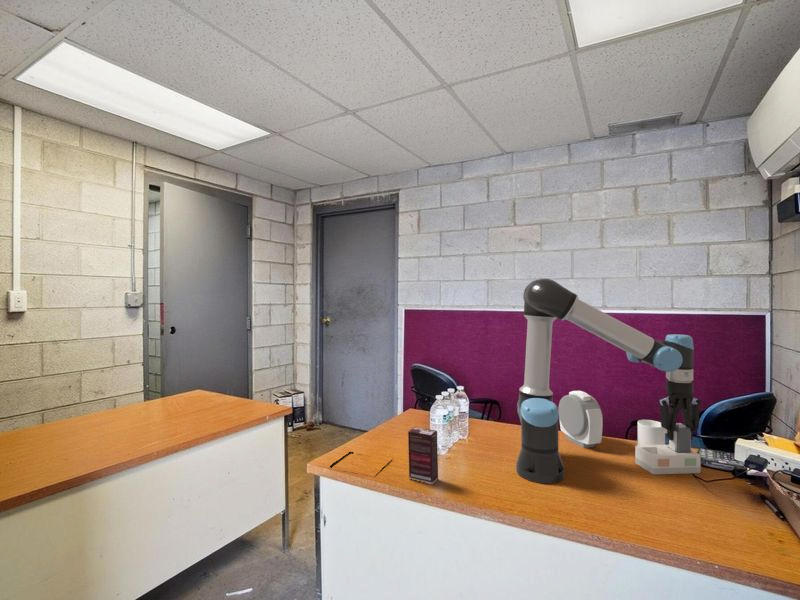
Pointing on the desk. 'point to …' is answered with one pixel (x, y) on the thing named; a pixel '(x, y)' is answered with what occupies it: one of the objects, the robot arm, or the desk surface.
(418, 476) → the supplement box
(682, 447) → the plug
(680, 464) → the divided sorting tray
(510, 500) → the desk surface
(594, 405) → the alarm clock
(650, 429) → the mug
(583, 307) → the robot arm
